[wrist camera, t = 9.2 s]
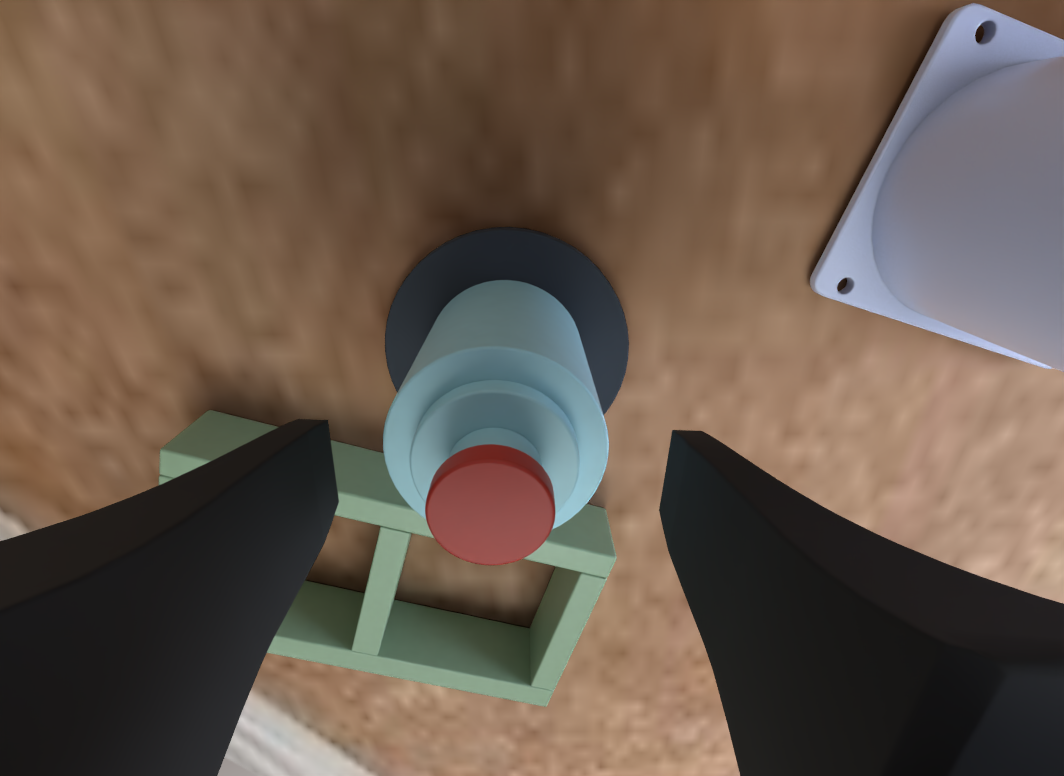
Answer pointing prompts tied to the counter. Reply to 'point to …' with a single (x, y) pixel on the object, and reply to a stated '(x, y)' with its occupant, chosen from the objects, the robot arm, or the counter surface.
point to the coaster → (515, 260)
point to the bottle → (497, 424)
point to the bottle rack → (409, 629)
